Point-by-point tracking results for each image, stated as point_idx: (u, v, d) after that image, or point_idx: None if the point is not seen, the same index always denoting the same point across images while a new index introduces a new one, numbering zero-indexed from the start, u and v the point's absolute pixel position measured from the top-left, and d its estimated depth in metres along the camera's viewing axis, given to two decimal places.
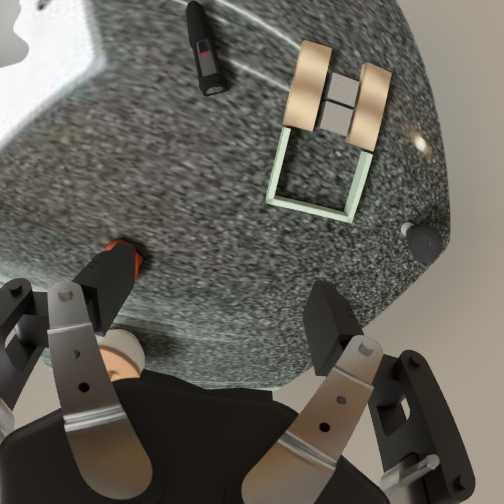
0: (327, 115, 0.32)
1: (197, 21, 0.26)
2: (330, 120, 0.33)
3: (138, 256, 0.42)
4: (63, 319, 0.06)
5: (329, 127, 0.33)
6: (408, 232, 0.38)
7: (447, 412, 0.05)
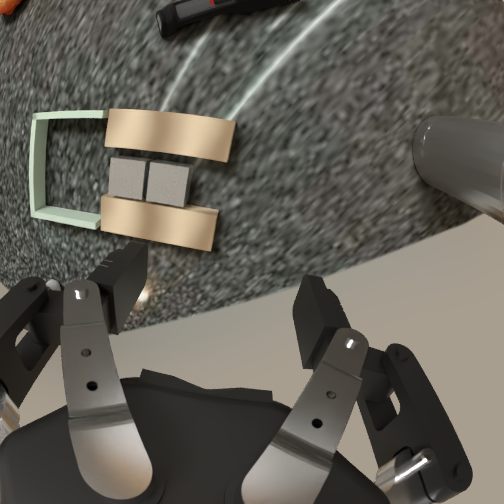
0: (127, 166, 0.24)
1: None
2: (122, 169, 0.25)
3: (11, 9, 0.12)
4: (77, 317, 0.06)
5: (113, 170, 0.25)
6: None
7: (438, 404, 0.06)
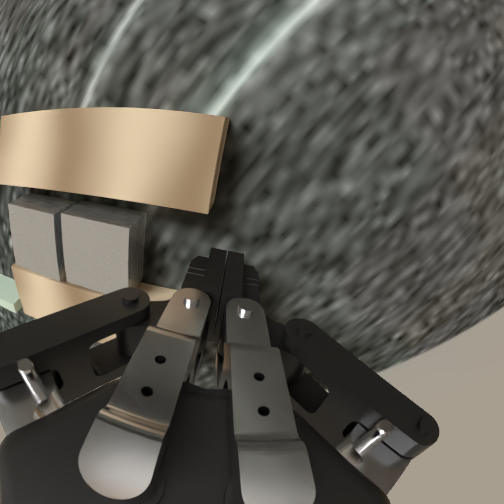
0: (29, 220, 0.11)
1: None
2: (24, 226, 0.11)
3: None
4: (174, 323, 0.07)
5: (13, 225, 0.11)
6: None
7: (365, 369, 0.07)
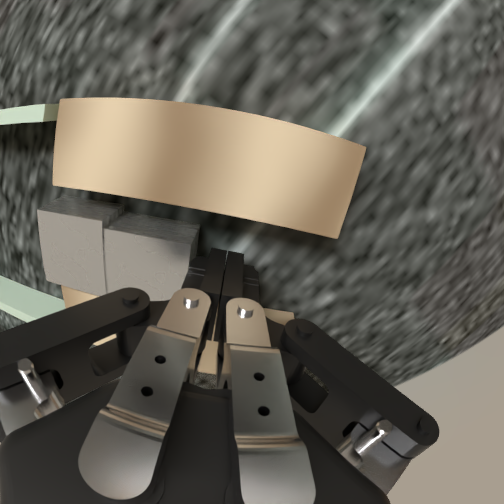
0: (67, 229, 0.10)
1: None
2: (59, 236, 0.10)
3: None
4: (174, 323, 0.07)
5: (44, 235, 0.10)
6: None
7: (365, 369, 0.07)
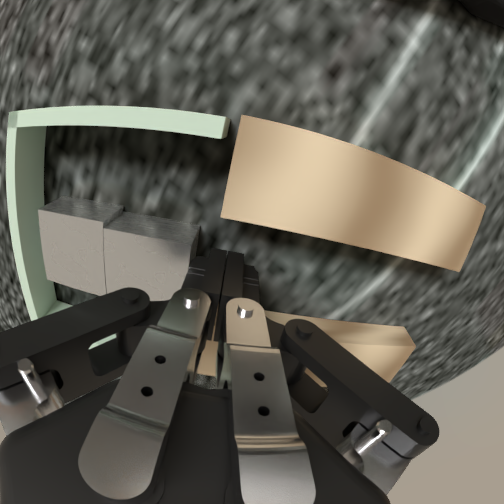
0: (68, 229, 0.10)
1: None
2: (60, 236, 0.11)
3: None
4: (174, 323, 0.07)
5: (45, 235, 0.10)
6: None
7: (365, 369, 0.07)
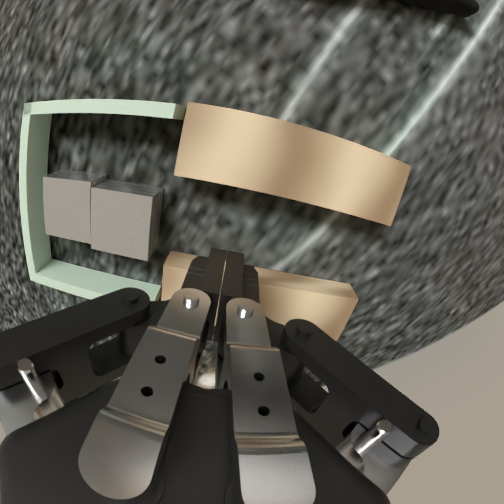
0: (65, 190, 0.13)
1: None
2: (58, 196, 0.14)
3: None
4: (174, 323, 0.07)
5: (47, 196, 0.14)
6: None
7: (365, 369, 0.07)
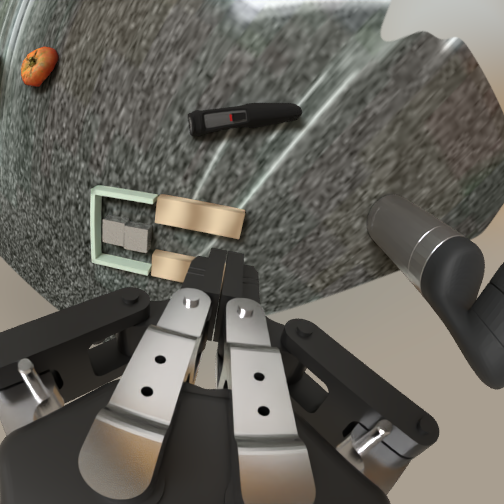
0: (113, 225, 0.39)
1: (271, 114, 0.33)
2: (110, 227, 0.39)
3: (39, 83, 0.28)
4: (174, 323, 0.07)
5: (104, 227, 0.39)
6: None
7: (365, 369, 0.07)
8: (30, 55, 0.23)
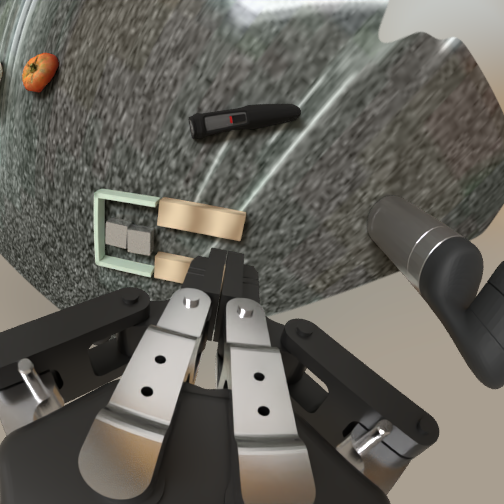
0: (116, 228, 0.40)
1: (271, 115, 0.33)
2: (113, 229, 0.40)
3: (40, 89, 0.29)
4: (174, 323, 0.07)
5: (107, 229, 0.40)
6: None
7: (365, 368, 0.07)
8: (31, 61, 0.24)
